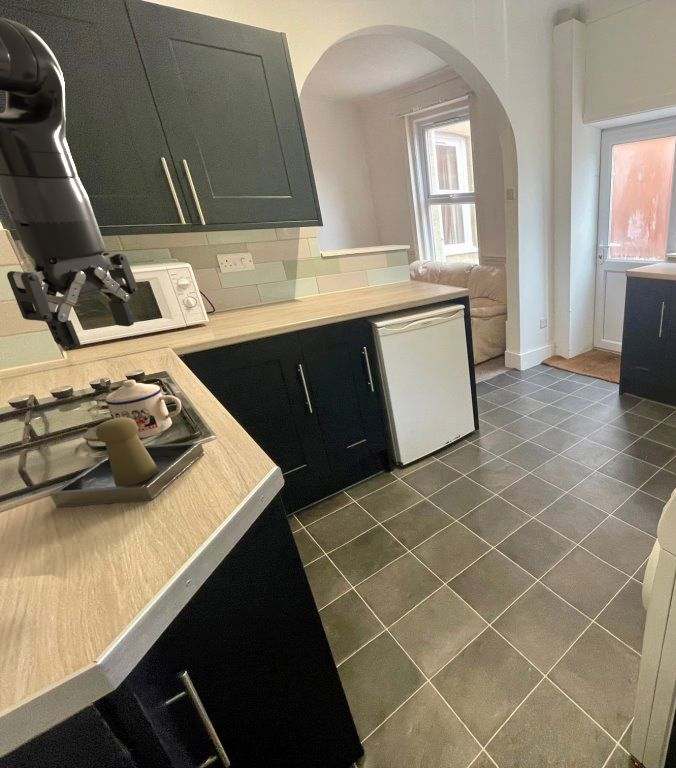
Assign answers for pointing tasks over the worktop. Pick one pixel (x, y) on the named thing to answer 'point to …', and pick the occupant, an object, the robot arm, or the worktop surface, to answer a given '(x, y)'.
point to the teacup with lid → (143, 407)
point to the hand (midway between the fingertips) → (99, 335)
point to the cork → (126, 451)
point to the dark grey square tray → (103, 490)
